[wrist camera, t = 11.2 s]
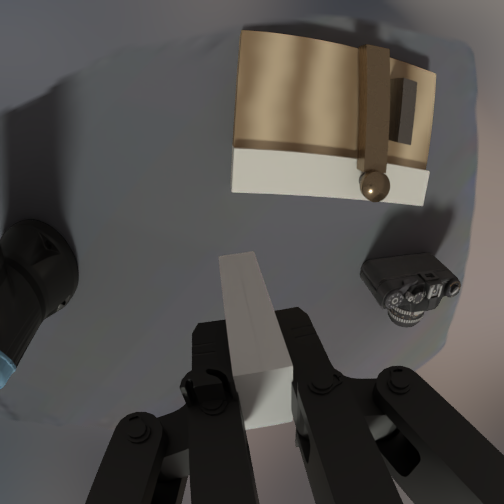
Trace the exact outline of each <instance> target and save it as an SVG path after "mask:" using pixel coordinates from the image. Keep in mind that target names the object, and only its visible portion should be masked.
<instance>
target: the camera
mask: <svg viewBox="0 0 504 504" xmlns="http://www.w3.org/2000/svg"><path fill="white" fill-rule="evenodd" d="M360 277H361V279H362V281H364V283H365V284H366V285H367V287H368V288H369V290H370V291H371V292H372V294H373V295H374V297H375V298H376V300H377V302H378V303H379V305H380V306H381V308H382V309H386V308H388V315H389V317H390V319H391V321H392V322H394V323H395V324H396V325H398V326H401V327H412V326H414V325H416V324H417V323H418V322H419V321H420V320H421V319H422V317H423V315H424V311H428V310H432V309H435V308H436V307H437V306H438V304H439V303H440V301H441V299H442V297H444V296H447V297H453V296H455V295H457V294H458V293H459V290H460V286H461V284H460V281H459V280H458V278H457V277H456V276H455V275H454V274H453V273H452V272H451V271H450V270H449V269H448V268H447V267H445V266H444V265H443V264H442V263H441V262H440V261H439V260H438V259H437V258H435V257H434V256H433V255H432V254H430V253H419V254H412V255H404V256H396V257H388V258H380V259H373V260H368V261H366V262H365V263H364V264H363V265H362V267H361V272H360Z"/></svg>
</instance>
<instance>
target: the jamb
mask: <svg viewBox="0 0 504 504" xmlns="http://www.w3.org/2000/svg"><path fill="white" fill-rule="evenodd" d="M365 173H366V172H362V171H360V170H358V169H357V158H351V157H344V156H335V155H327V154H318V153H308V152H297V151H285V150H271V149H255V148H234V147H233V146H232V164H231V190H232V192H237V193H264V194H285V195H303V196H319V197H333V198H346V199H358V200H368V199H367V198H365V197H364V196H363V195H362V193H361V191H360V180H361V178H362V176H363V175H364V174H365ZM429 173H430V171H427V170H424V169H419V168H414V167H408V166H403V165H397V164H391V163H387V168H386V173H384V174H385V175H387V177H388V178H389V181H390V191H389V193H388V195H387V196H386V198H385V199H383V200H382V201H380V202H390V203H399V204H408V205H417V206H423V203H424V198H425V194H426V189H427V183H428V178H429ZM369 201H370V200H369Z"/></svg>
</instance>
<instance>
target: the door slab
mask: <svg viewBox="0 0 504 504" xmlns="http://www.w3.org/2000/svg"><path fill="white" fill-rule="evenodd" d="M393 78H407V79H410V80H413V81H416V82H417V94H416V106H415V116H414V125H413V133H412V141H411V145H407V144H402V143H398V142H394V141H390V140H389V141H388V156H387V163H391V164H397V165H403V166H408V167H414V168H419V169H424V170H426V164H427V158H428V152H429V145H430V137H431V129H432V121H433V111H434V99H435V85H436V74H435V73H432V72H430V71H427V70H425V69H422V68H419V67H417V66H414V65H411V64H408V63H405V62H402V61H399V60H396V59H393V58H390V79H393ZM358 133H359V49H358V48H354V47H350V46H346V45H342V44H337V43H333V42H328V41H323V40H318V39H312V38H306V37H300V36H293V35H286V34H279V33H270V32H260V31H248V30H242V31H241V34H240V41H239V54H238V68H237V82H236V96H235V112H234V128H233V147H234V148H255V149H271V150H285V151H297V152H308V153H318V154H327V155H335V156H344V157H351V158H357V153H358Z"/></svg>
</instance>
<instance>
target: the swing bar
mask: <svg viewBox="0 0 504 504" xmlns="http://www.w3.org/2000/svg"><path fill="white" fill-rule="evenodd" d="M389 121H390V49H387V48H383V47H378V46H374V45H369V44H365V45H362V46H360V47H359V133H358V153H357V169H358V170H360V171H362V172H366V173H365V174H364V175H363V176H362V178H361V180H360V191H361V193H362V195H363V196H364V197H365V198H367V199H368V200H370V201H372V202H379V201H382V200H383V199H385V198H386V196H387V195H388V193H389V191H390V181H389V178H388V177H387V175H385V174H384V173H386V168H387V156H388V141H389Z"/></svg>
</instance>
